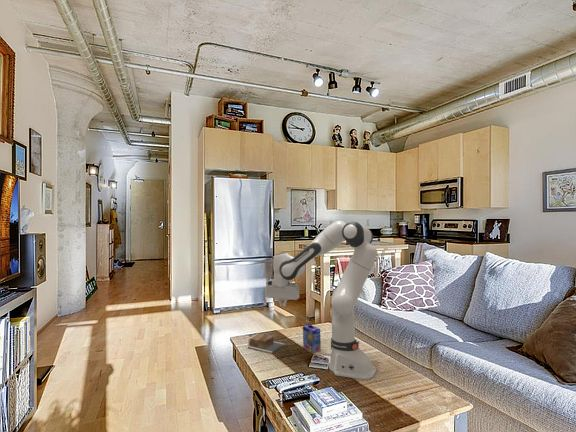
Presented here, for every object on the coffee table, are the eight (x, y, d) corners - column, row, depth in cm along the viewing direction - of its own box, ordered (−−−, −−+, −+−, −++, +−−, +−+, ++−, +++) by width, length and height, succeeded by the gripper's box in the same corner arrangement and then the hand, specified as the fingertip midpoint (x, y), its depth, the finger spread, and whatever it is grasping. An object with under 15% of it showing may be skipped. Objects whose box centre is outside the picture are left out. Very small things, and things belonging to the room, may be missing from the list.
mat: (284, 345, 191) (284, 343, 191) (271, 353, 179) (271, 352, 179) (261, 340, 199) (261, 338, 199) (247, 348, 187) (247, 346, 187)
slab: (273, 336, 192) (257, 333, 197) (264, 341, 184) (248, 338, 190) (273, 343, 192) (257, 340, 197) (264, 349, 184) (248, 345, 190)
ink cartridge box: (302, 347, 188) (302, 321, 188) (310, 345, 192) (309, 320, 192) (313, 352, 180) (313, 326, 180) (321, 350, 183) (320, 324, 184)
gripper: (300, 281, 182) (302, 306, 181) (269, 279, 192) (270, 303, 191) (295, 283, 176) (296, 309, 176) (263, 281, 186) (264, 306, 186)
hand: (282, 306), depth 184 cm, fingers closed
